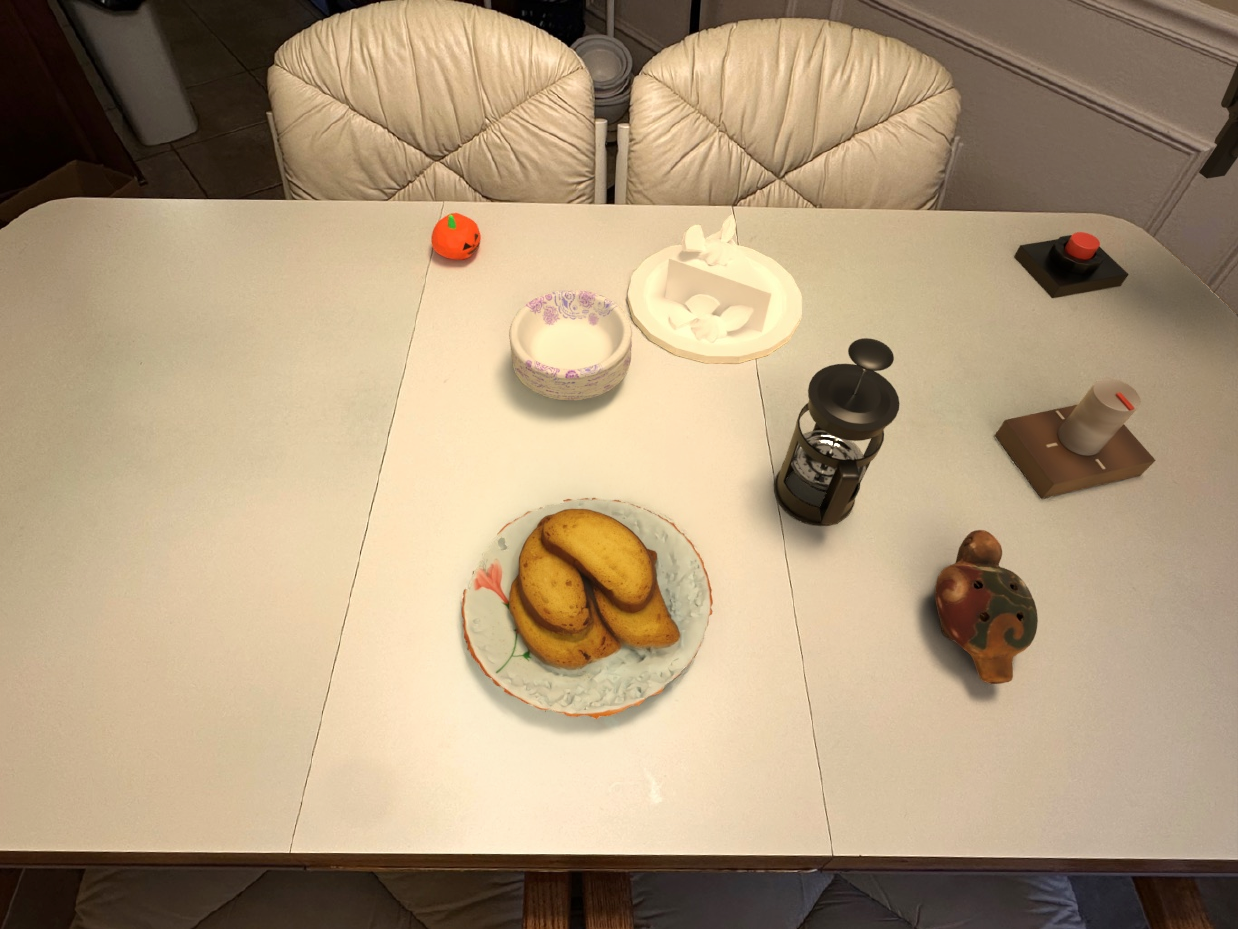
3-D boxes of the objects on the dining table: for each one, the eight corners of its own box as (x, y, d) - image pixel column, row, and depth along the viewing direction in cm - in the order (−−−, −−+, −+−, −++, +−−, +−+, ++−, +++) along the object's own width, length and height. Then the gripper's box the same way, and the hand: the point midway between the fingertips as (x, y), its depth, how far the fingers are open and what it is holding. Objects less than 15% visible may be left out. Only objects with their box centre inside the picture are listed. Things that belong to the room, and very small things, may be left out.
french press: (768, 455, 90) (812, 310, 72) (845, 456, 90) (909, 312, 72) (781, 538, 83) (833, 401, 65) (864, 539, 83) (940, 403, 65)
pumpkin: (483, 234, 115) (478, 198, 110) (480, 267, 110) (475, 231, 105) (436, 235, 115) (429, 198, 109) (431, 268, 110) (423, 231, 105)
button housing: (1079, 245, 117) (1093, 224, 114) (1120, 286, 111) (1136, 264, 108) (1013, 256, 115) (1025, 234, 112) (1052, 298, 109) (1065, 276, 106)
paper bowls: (531, 429, 92) (526, 385, 85) (502, 347, 100) (496, 301, 94) (646, 401, 95) (650, 357, 89) (609, 324, 104) (610, 278, 97)
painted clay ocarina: (988, 557, 82) (1026, 522, 76) (1032, 694, 74) (1080, 669, 67) (903, 555, 82) (935, 520, 75) (938, 694, 73) (977, 669, 67)
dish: (592, 294, 107) (592, 227, 98) (714, 228, 117) (724, 162, 108) (713, 391, 96) (725, 326, 87) (836, 309, 107) (858, 243, 98)
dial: (1049, 427, 90) (1085, 380, 83) (1084, 420, 91) (1122, 372, 84) (1074, 459, 87) (1113, 413, 81) (1110, 451, 88) (1152, 404, 82)
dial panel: (1089, 414, 96) (1102, 398, 93) (1141, 475, 90) (1156, 459, 87) (994, 435, 93) (1005, 418, 91) (1041, 498, 87) (1054, 483, 85)
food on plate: (435, 703, 71) (422, 677, 66) (498, 493, 86) (491, 458, 81) (700, 744, 69) (708, 721, 64) (717, 522, 84) (725, 488, 79)
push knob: (1081, 241, 112) (1088, 230, 110) (1098, 258, 110) (1106, 246, 108) (1058, 245, 111) (1065, 233, 110) (1075, 262, 109) (1082, 250, 107)
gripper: (1279, -58, 79) (1151, 151, 98) (1385, -11, 71) (1224, 207, 90) (1336, -64, 80) (1199, 144, 99) (1446, -18, 73) (1275, 198, 91)
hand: (1211, 173), depth 94 cm, fingers closed
